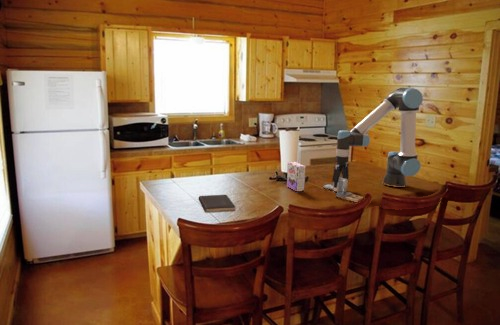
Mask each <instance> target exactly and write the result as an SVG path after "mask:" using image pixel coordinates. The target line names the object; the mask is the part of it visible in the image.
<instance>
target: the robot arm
mask: <svg viewBox="0 0 500 325" xmlns="http://www.w3.org/2000/svg"><path fill="white" fill-rule="evenodd" d="M423 100H424V96H423V94H422V92H421V91H420V90H419V89H417V88H414V87H399V88H396V89H395V90H393V91H392V92H390V93H389V94H388V95H387V96H386V97H385V98H384V99H383V102H381V103H380V104H379V105H378V106H376V108H375V109H373V110H372V111H371V112H370V113H369V114H368V115H366V116H365V117H364V118H363V119H362V120H361V121H360V122H359V123H358V124H356V125H355V126H354V127H353V128H352V129H350V130H345V129H344V130H343V129H342V130H340V129H339V131H338V132H337V137H336V138H337V142H336V150H335V151H336V153H335V154H336V156H335V162H336V163H337V164H336V165H334V168H333V174H332V178H331V179H332V180H331V182H332V183H333V182H334V191H337V192H338V186H339V183H338V180H339V177H340V176H342V177H340V178H345V179H348V180H349V175H350V174H349V172H350V171H349V166H350V163H349V157H350V156H349V155H350V147H362V148H363V147H368V146H369V145H370V142H371V140H370V135H369V134H366V133H367V132H368V131H370V130H371V129H372V128H373V127H374V126H375V125H377V123H379V122H380V121H382V119H384V118H385V117H386V116H387V115H388V114H389V113H391V112H392V111H393V112H394V111H395V110H396V109H398V112H399V113H400V142H399V143H400V148H399V149H400V150H399V151H389V152H388V154H387V162H386V173H385V176H384V177H383V180H382V184H383V183H386V184H389V185H396V186H404V185H406V184H407V183H408V182H407V178H406V177H413V176H415V175H417V174H418V173H419V171H420V170H421V167H422V166H421V165H422V164H421V162H420V160H419V159H418V157H419V156H418V153H417V151H416V131H417V130H416V128H417V127H416V126H417V124H416V123H417V113H418V112H419V111H420V106H421V105H422V104H423ZM406 186H407V185H406ZM334 191H333V192H334Z"/></svg>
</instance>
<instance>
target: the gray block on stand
mask: <svg viewBox="0 0 500 325" xmlns="http://www.w3.org/2000/svg"><path fill="white" fill-rule="evenodd" d="M353 194H354V193H353V192H350V191H348V184H347V180H346V179H344V180H343V190H342V191H340V192H337V193H335V197H336V196H337V197H341V198H346V197H348V196H351V195H353Z"/></svg>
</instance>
